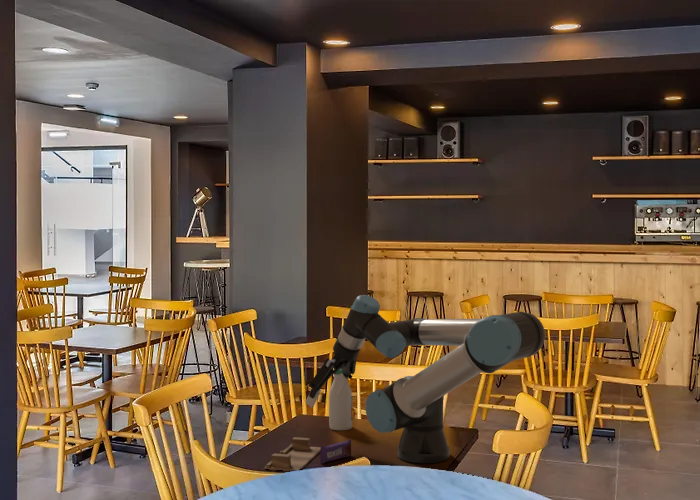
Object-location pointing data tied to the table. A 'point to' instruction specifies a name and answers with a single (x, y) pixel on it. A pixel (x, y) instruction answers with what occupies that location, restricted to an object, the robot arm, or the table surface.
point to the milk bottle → (340, 406)
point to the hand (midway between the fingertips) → (323, 398)
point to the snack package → (335, 451)
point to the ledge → (294, 456)
